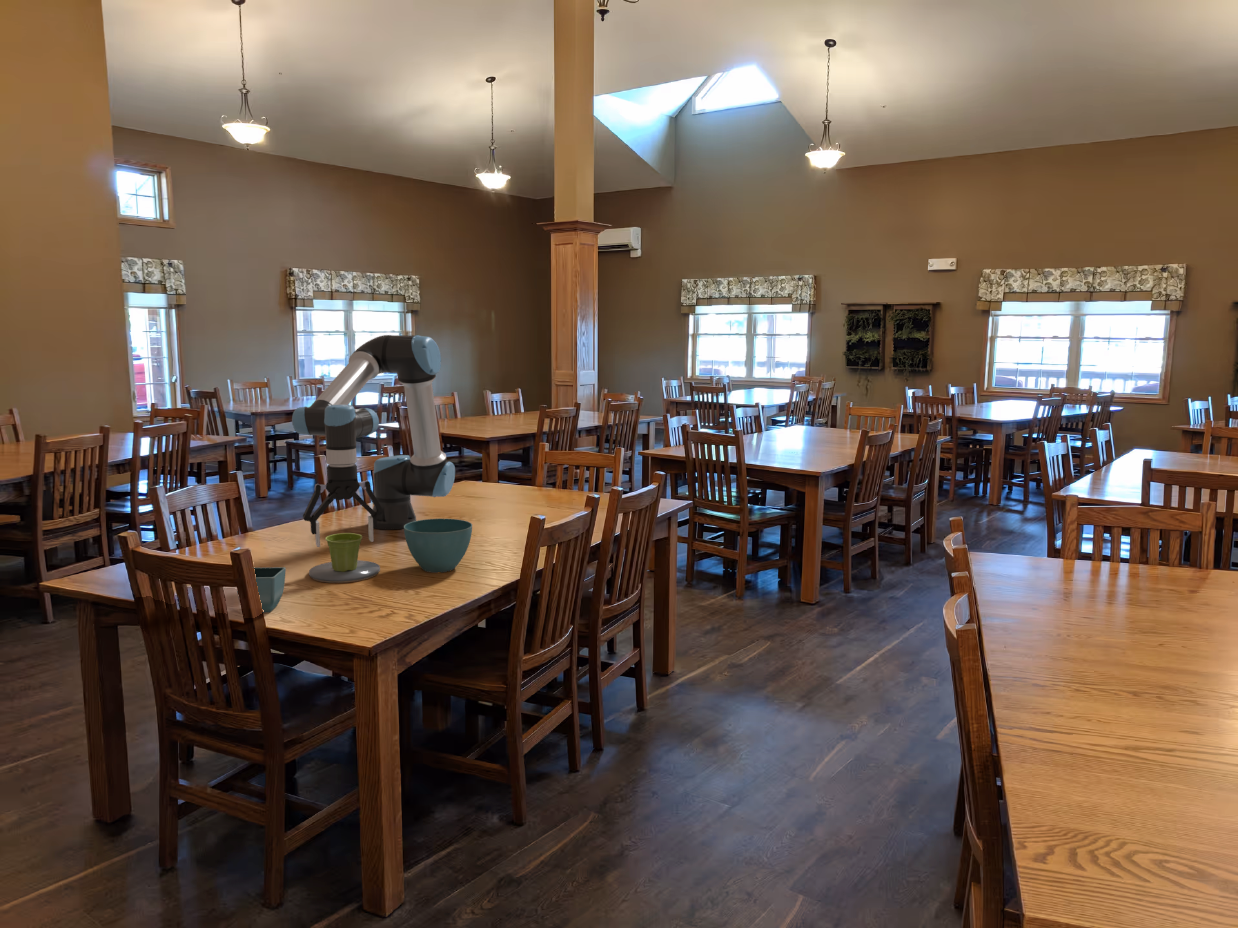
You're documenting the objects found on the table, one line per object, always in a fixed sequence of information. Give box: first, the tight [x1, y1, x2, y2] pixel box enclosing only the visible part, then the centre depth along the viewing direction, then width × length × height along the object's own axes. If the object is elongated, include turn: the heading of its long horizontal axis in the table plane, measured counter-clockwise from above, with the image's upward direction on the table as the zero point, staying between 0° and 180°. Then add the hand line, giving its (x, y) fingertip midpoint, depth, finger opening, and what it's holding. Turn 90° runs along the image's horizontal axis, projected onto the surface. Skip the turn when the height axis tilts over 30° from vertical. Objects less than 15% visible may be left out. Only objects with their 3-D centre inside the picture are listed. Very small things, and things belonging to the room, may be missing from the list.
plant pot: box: [324, 532, 363, 572], centre depth 222 cm, size 9×9×9 cm
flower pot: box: [236, 566, 287, 613], centre depth 191 cm, size 9×9×9 cm
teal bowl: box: [403, 518, 473, 574], centre depth 228 cm, size 18×18×12 cm
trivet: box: [308, 559, 381, 584], centre depth 222 cm, size 18×18×1 cm
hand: (345, 543), depth 221 cm, fingers open, 13 cm apart
